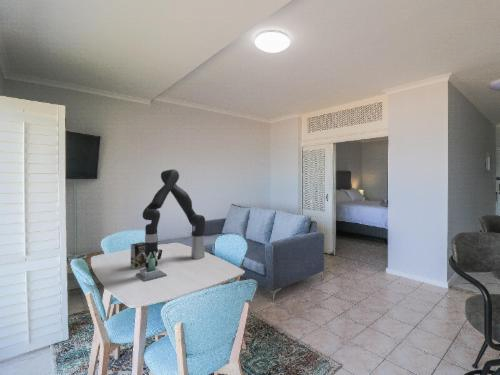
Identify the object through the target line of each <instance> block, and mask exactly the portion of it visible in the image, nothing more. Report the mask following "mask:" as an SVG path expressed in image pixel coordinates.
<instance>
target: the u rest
mask: <svg viewBox="0 0 500 375" xmlns="http://www.w3.org/2000/svg"><path fill="white" fill-rule="evenodd" d="M167 275H168V274H167V273H166V272H164V271H162V270H161V269H159V268H155V271H151V272H147V268H146V267H142V268H139V272H136V273H135V276H136V277H138V278H139V279H141V280H142V281H143V282H149V281H152V280H156V279H160V278H164V277H167Z"/></svg>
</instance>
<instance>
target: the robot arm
mask: <svg viewBox="0 0 500 375" xmlns="http://www.w3.org/2000/svg"><path fill="white" fill-rule="evenodd" d="M179 173H180V172H178V170H177V169H174V168H173V169H166V170H163V171H162V172H161V173H160V179H161V181H162V183H163V185H162V187H161V188H160V189H159V190H158V191H157V192H156V193H155V194H154V196H153V198H152V200H151V201H150V202H149V204H148V205H147V206H146V207H145V208H144V210H143V211H142V218H143V219H144V220H146V221H151V222H150V223H147V224H146V225H145V233H144V234H145V235H144V243H145V251H144V252H143V253H140V256H141V260H142V262H145V267H144V268H147V269H148V261H149V259H150V257H151V254H153V257H155V268H156V267H157V266H158V262H159V260H160V259H161V258H162V253H163V249H161V248H160V249H159V248H158V247H159V246H158V244H159V241H158V239H159V237H158V226H159V222H160V218H161V213H160V211H159V209H161V208H163V207H162V206H163V205H164V203H165V201H166V199H167V197H168V195H169V194H170V193H171V194H172V196H173V197H174V199H175V200H176V202H177V204H178V206H180V208H181V209H182V211H183V213H184V214H185V216H186V218H187V220H188V222H189V224H190V225H191V226H192V227H195V228H194V230H193V231H192V232H191V255H190V256H191V259H193V260H200V259H204V258H205V253H206V252H205V251H206V249H205V246H206V245H205V244H204V242H205V240H204V238H205V236H204V235H205V231H206V219H205V216H204V215H201V214H197V213H196V211H195V210H194V208H193V201H192V199H191V197H190V195H189V193H187V191H185V190H184V189H183V188H181V187H179V185H178V184H177V182H178V181H179V178H180V174H179ZM144 254H146V257H145V259H144Z"/></svg>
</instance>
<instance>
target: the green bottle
mask: <svg viewBox="0 0 500 375" xmlns="http://www.w3.org/2000/svg"><path fill="white" fill-rule="evenodd" d="M155 269H156V267H155V257H153V254H151V257H150V259H149V261H148V269H147V272H151V271H155Z"/></svg>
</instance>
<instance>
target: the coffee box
mask: <svg viewBox="0 0 500 375" xmlns="http://www.w3.org/2000/svg"><path fill="white" fill-rule="evenodd" d="M144 251H145V241H144V242H142V241H141V242H136V243H132V244H130V268H131V269H134V270H138V269H141V268H146V267H145V262H142V260H141V256H140V253H143V252H144ZM145 257H146V254H144V259H145Z"/></svg>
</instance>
